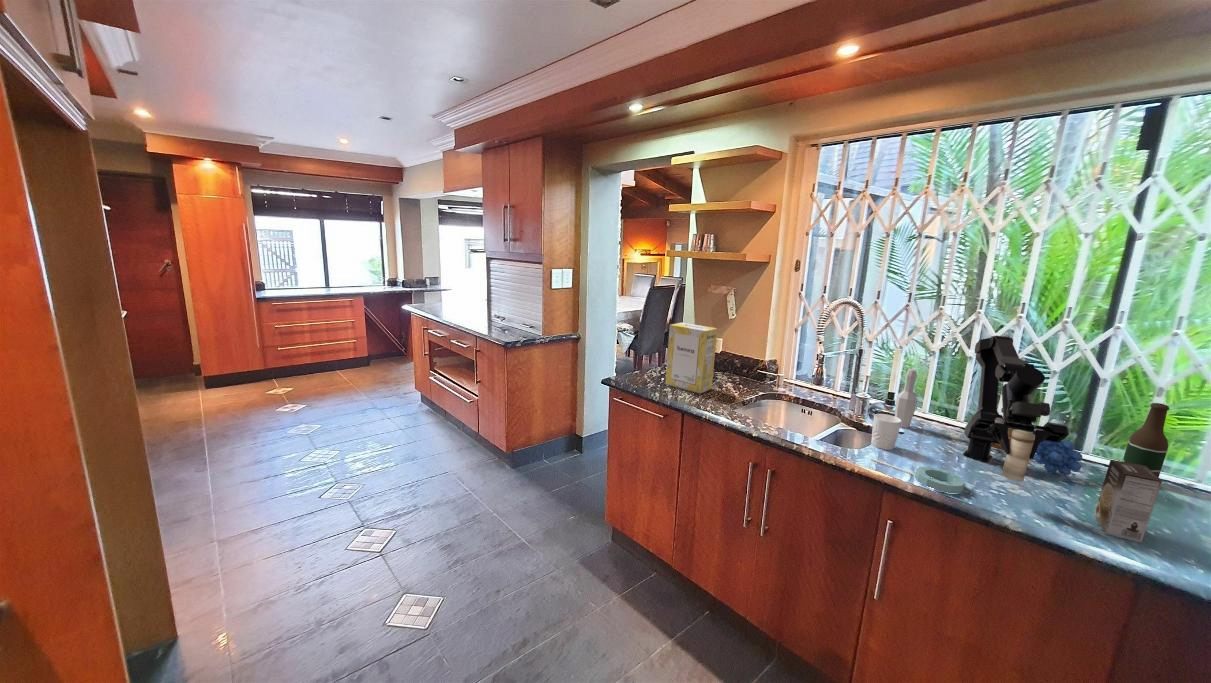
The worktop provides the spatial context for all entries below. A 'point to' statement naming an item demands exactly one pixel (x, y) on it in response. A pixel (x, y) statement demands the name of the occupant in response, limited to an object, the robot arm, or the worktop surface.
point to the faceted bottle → (906, 400)
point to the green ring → (952, 480)
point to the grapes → (1058, 457)
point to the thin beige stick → (892, 466)
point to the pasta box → (691, 357)
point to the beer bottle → (1149, 441)
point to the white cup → (885, 431)
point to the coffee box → (1127, 500)
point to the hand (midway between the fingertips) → (1019, 456)
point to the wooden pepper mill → (1018, 455)
